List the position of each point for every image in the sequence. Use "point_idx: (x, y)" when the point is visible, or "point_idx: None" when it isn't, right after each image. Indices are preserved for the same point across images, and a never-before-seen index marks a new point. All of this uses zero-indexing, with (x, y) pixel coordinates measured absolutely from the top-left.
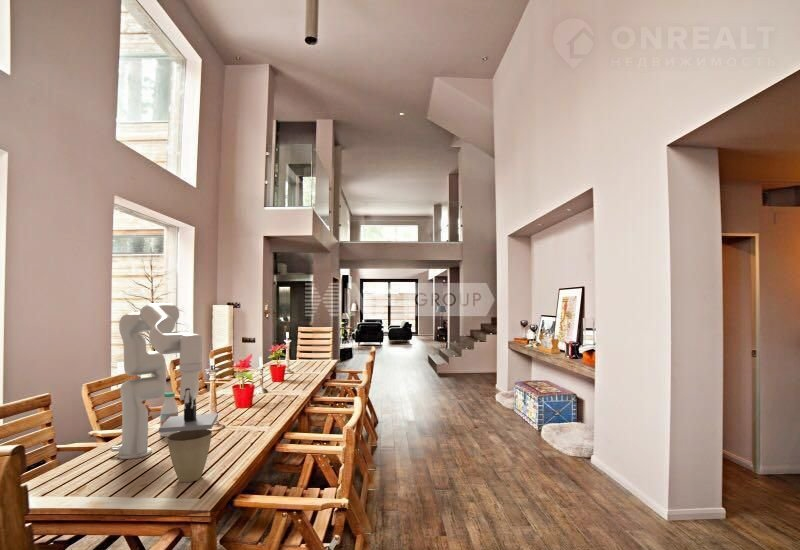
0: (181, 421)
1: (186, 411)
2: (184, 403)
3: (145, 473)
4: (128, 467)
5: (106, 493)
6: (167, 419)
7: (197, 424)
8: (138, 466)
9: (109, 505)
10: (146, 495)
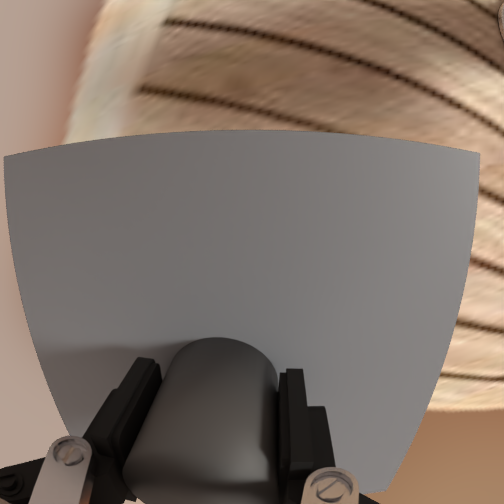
0: (192, 316)
1: (89, 432)
2: (32, 489)
3: (363, 71)
4: (434, 18)
5: (193, 2)
6: (348, 137)
7: (84, 420)
8: (439, 45)
9: (96, 53)
10: (135, 129)
